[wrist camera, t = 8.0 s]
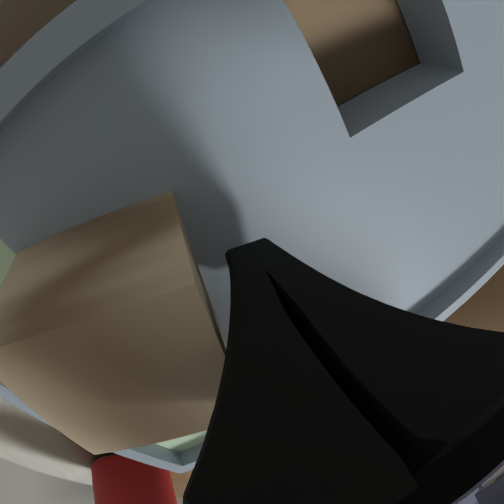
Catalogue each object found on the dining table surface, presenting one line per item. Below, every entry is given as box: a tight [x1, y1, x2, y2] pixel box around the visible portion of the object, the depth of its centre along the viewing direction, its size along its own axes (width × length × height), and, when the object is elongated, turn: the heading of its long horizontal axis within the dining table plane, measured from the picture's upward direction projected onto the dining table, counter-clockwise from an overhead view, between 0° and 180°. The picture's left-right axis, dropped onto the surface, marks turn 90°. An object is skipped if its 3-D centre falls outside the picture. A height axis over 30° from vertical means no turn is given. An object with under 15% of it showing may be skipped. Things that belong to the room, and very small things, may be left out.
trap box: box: [0, 0, 504, 474], centre depth 11 cm, size 19×29×4 cm, turn 120°
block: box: [0, 191, 227, 455], centre depth 8 cm, size 5×5×4 cm
